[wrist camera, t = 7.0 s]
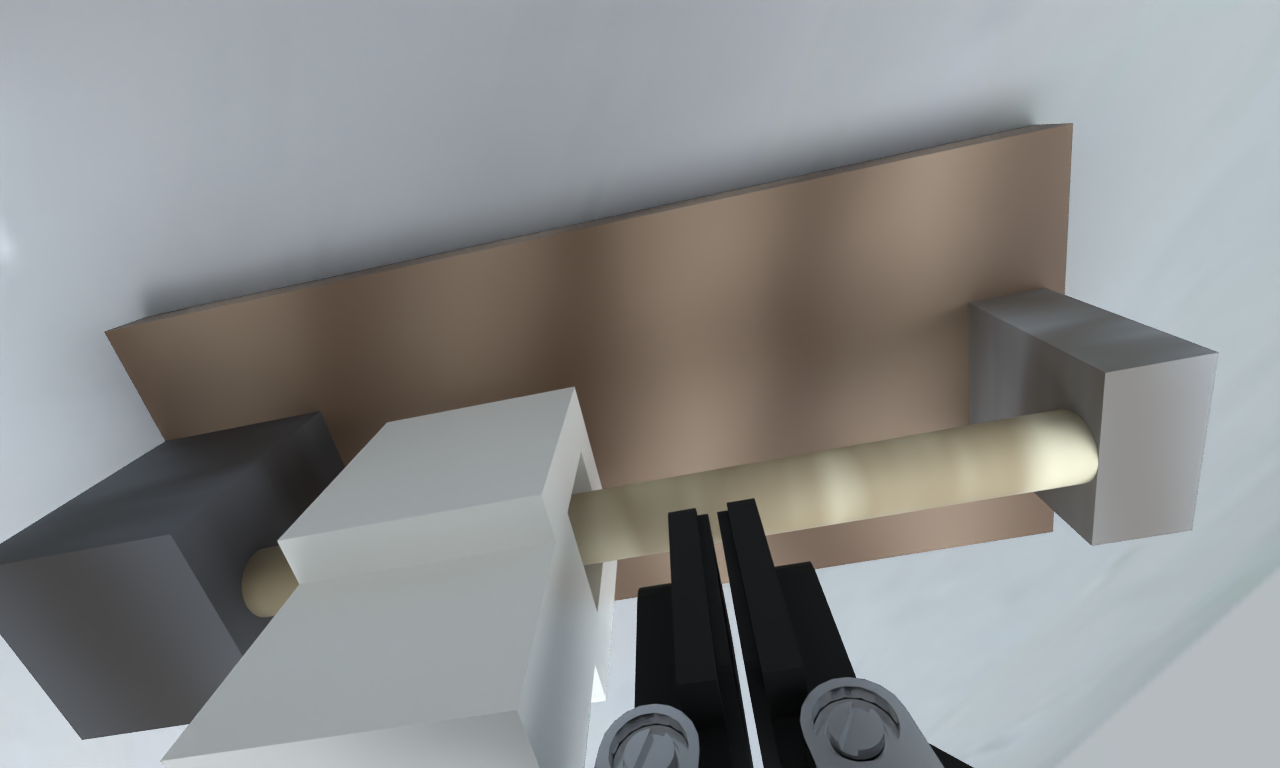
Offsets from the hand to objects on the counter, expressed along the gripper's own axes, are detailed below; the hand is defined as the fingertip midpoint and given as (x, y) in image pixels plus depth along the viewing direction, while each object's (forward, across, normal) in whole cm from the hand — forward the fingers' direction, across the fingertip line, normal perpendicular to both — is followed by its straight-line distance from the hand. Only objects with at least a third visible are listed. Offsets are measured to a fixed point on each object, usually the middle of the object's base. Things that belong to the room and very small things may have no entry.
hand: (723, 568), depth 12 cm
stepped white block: (+5, +5, 0) cm, 7 cm away
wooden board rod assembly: (+8, +3, 0) cm, 9 cm away
